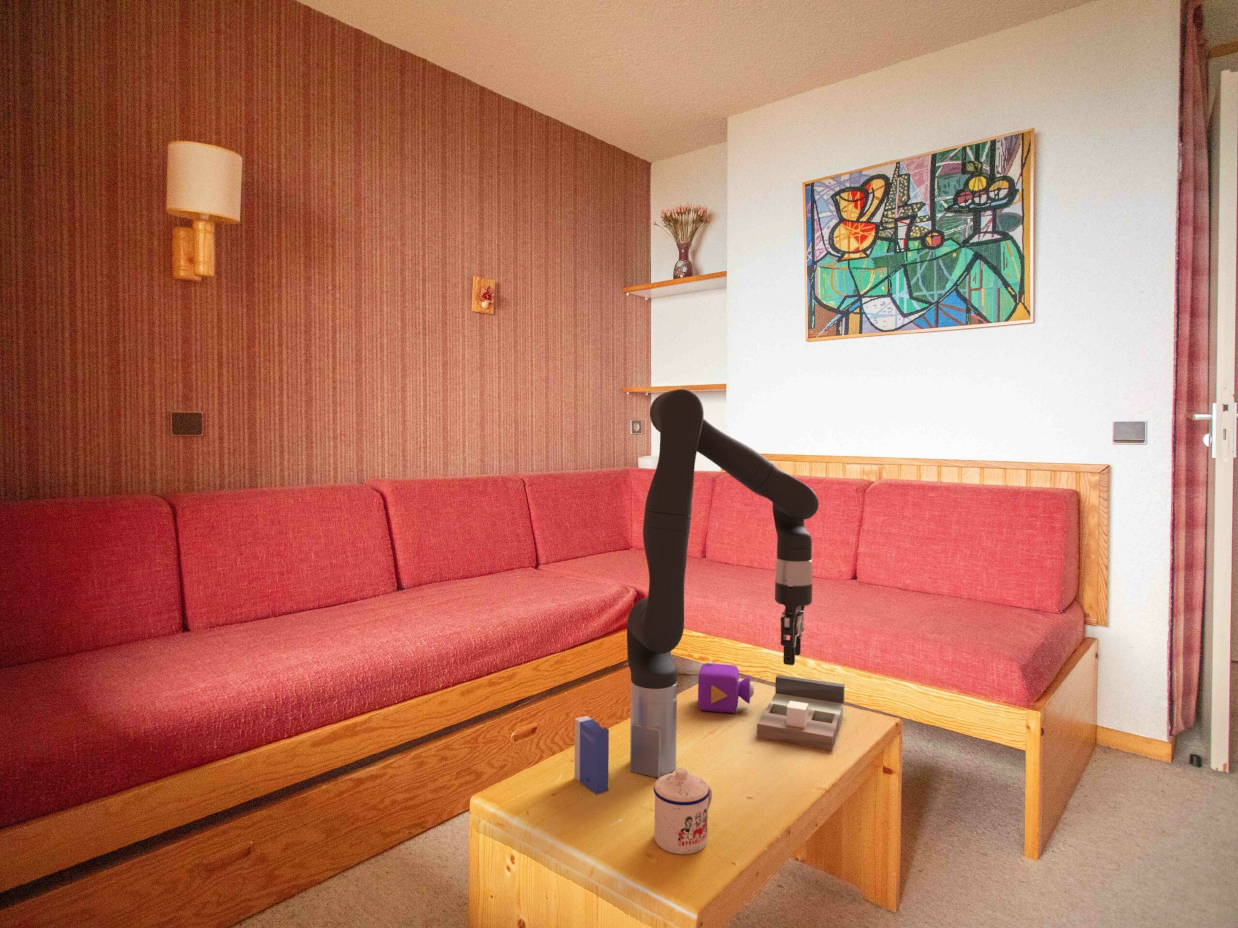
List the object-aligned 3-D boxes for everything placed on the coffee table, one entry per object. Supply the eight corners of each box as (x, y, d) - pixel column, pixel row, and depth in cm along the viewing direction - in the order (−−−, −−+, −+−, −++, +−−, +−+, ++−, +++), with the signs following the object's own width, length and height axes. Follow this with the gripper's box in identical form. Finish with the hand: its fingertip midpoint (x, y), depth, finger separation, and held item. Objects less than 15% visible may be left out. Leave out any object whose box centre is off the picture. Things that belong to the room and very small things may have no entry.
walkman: (608, 790, 131) (609, 727, 131) (595, 794, 130) (596, 730, 129) (586, 773, 138) (586, 713, 137) (574, 777, 136) (574, 716, 136)
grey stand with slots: (832, 750, 149) (832, 717, 148) (756, 736, 155) (757, 705, 155) (843, 712, 169) (844, 684, 169) (776, 702, 175) (777, 674, 175)
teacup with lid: (683, 863, 109) (683, 790, 109) (641, 838, 116) (642, 769, 115) (731, 833, 118) (732, 765, 117) (689, 812, 124) (690, 747, 124)
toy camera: (756, 715, 167) (757, 674, 166) (699, 715, 167) (699, 673, 167) (749, 698, 178) (750, 659, 177) (695, 697, 178) (695, 658, 178)
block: (805, 728, 153) (805, 709, 153) (786, 724, 155) (786, 706, 154) (807, 721, 157) (808, 703, 156) (789, 718, 158) (790, 700, 158)
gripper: (782, 572, 155) (780, 647, 156) (768, 585, 142) (766, 667, 142) (817, 575, 152) (815, 652, 153) (806, 588, 139) (804, 672, 139)
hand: (792, 659), depth 148 cm, fingers open, 6 cm apart
